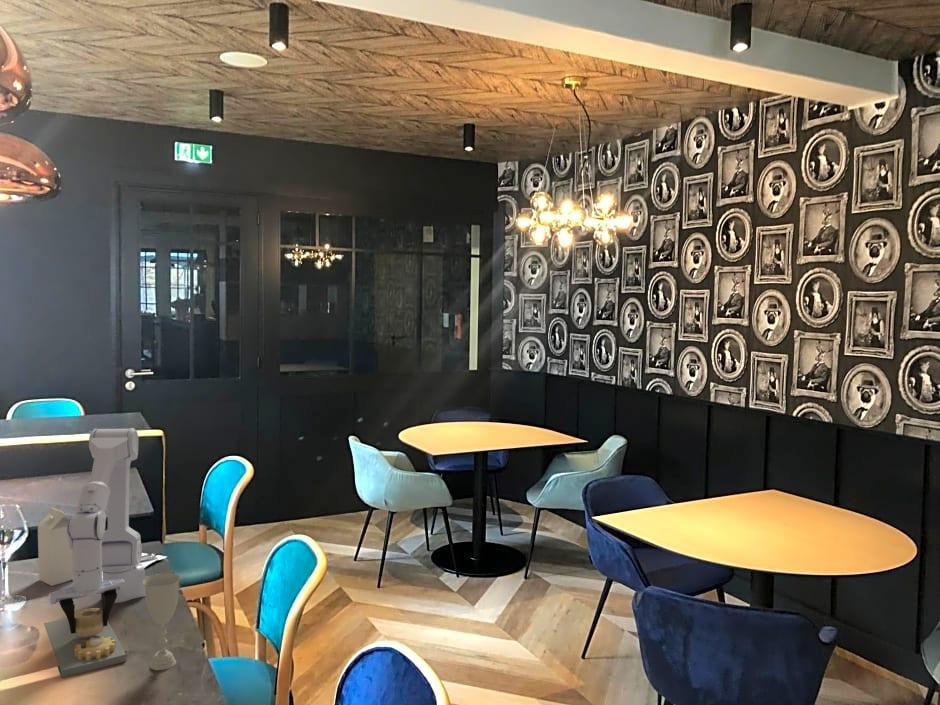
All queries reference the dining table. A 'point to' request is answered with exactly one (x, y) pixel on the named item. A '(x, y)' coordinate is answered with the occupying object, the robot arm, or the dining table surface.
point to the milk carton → (54, 549)
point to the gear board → (83, 648)
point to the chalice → (162, 612)
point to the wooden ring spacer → (88, 622)
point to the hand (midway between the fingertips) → (88, 628)
